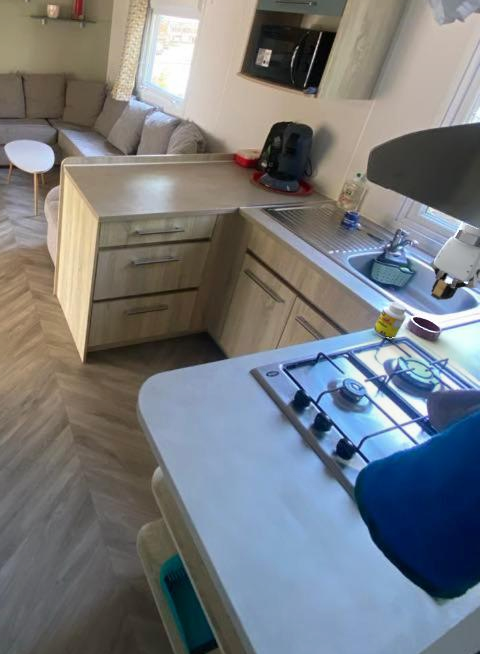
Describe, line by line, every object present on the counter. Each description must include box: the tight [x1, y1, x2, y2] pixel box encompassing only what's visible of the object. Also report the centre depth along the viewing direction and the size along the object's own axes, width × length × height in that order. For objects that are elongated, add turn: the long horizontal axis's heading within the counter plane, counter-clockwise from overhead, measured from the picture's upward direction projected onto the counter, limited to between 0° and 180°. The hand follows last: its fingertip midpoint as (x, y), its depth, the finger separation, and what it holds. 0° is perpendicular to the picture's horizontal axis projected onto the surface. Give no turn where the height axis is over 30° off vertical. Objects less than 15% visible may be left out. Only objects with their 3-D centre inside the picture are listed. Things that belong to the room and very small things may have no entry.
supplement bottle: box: [373, 301, 407, 340], centre depth 122 cm, size 6×6×10 cm
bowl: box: [406, 315, 443, 341], centre depth 128 cm, size 8×8×3 cm
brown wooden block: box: [430, 278, 453, 301], centre depth 121 cm, size 4×2×6 cm, turn 105°
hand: (440, 294), depth 122 cm, fingers closed on brown wooden block, 2 cm apart
